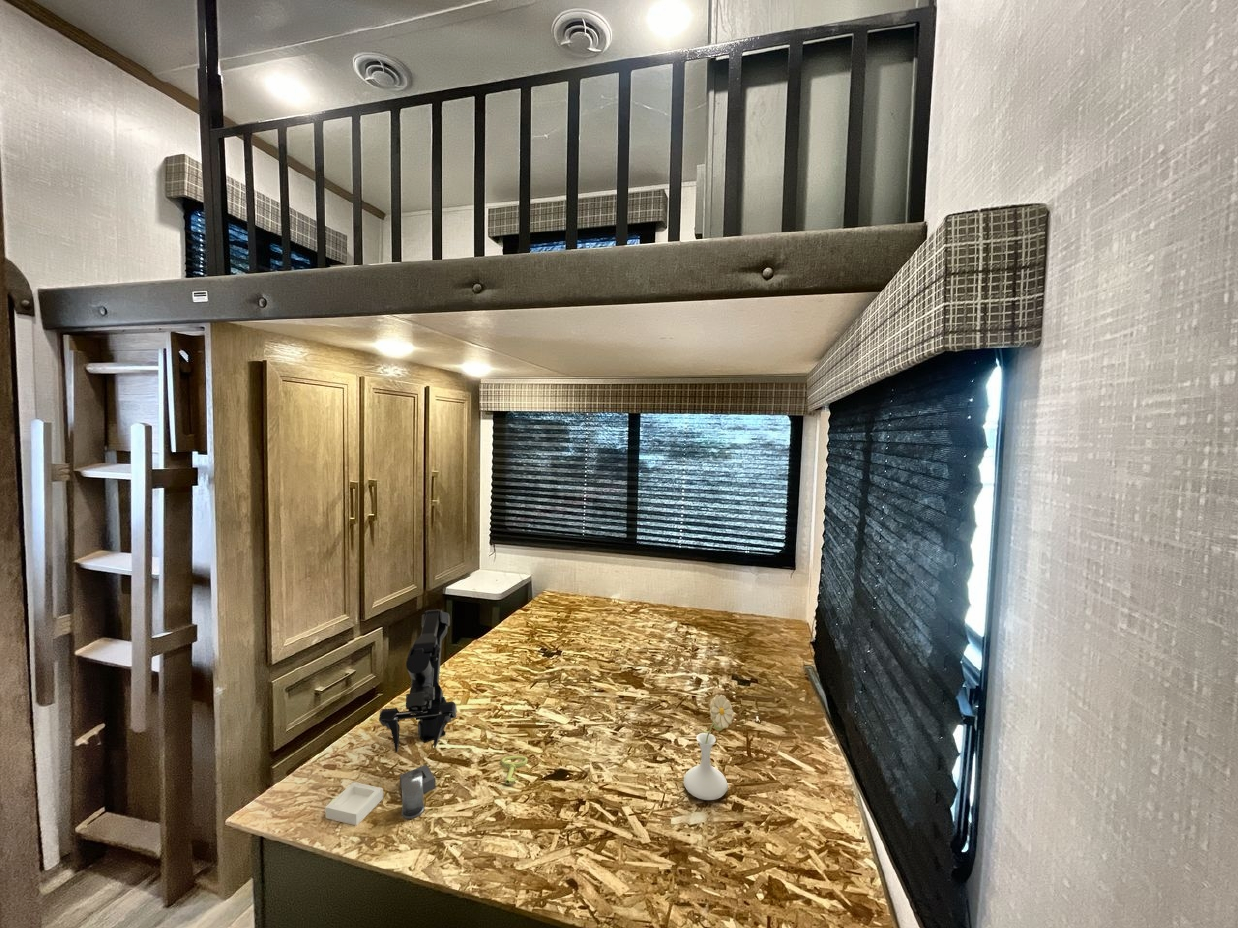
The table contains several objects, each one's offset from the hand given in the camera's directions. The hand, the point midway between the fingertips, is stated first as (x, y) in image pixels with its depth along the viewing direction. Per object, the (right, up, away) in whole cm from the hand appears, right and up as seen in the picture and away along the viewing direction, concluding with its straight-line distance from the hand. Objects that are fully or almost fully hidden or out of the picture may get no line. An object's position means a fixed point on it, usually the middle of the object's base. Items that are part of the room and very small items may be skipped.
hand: (415, 749), depth 129 cm
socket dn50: (-14, -12, -4) cm, 19 cm away
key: (+23, -12, +10) cm, 28 cm away
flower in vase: (+75, -12, +3) cm, 77 cm away
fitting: (+1, -12, -5) cm, 13 cm away
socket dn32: (-1, -12, +4) cm, 12 cm away
